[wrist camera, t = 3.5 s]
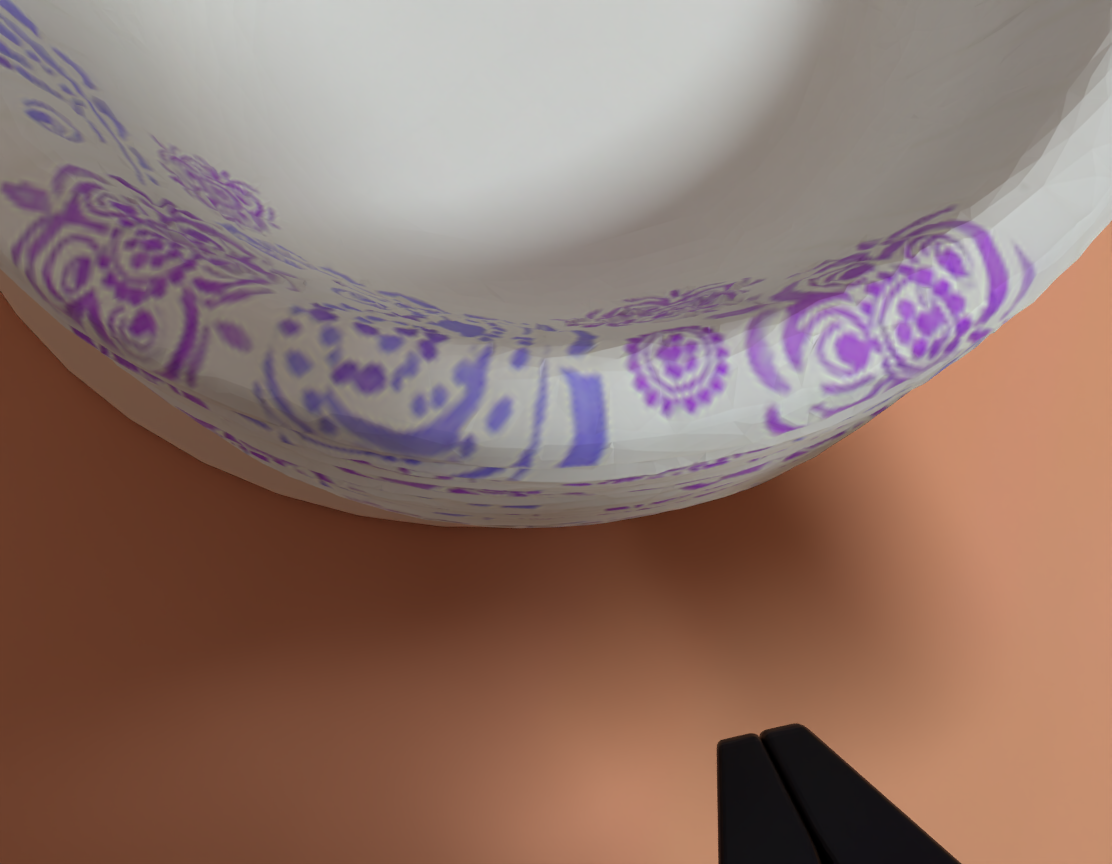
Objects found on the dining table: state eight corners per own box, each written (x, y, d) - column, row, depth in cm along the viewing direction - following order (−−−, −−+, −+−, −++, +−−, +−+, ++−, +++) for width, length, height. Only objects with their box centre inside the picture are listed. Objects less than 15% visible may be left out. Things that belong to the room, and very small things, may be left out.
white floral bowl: (886, -199, 20) (1116, -756, 12) (1000, 536, 16) (1430, 428, 8) (140, -183, 19) (-129, -753, 11) (93, 578, 16) (-339, 505, 8)
